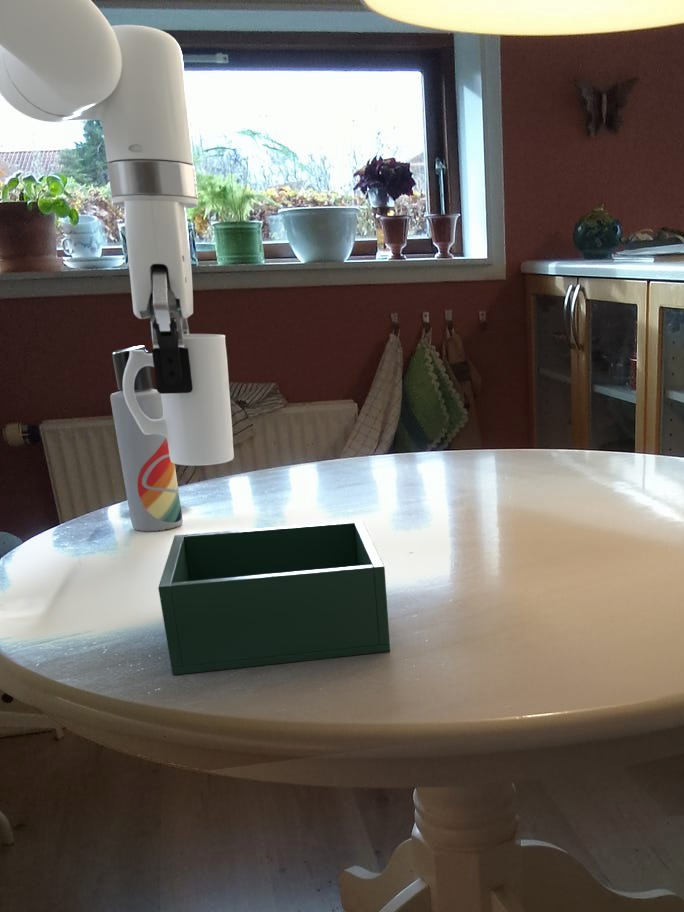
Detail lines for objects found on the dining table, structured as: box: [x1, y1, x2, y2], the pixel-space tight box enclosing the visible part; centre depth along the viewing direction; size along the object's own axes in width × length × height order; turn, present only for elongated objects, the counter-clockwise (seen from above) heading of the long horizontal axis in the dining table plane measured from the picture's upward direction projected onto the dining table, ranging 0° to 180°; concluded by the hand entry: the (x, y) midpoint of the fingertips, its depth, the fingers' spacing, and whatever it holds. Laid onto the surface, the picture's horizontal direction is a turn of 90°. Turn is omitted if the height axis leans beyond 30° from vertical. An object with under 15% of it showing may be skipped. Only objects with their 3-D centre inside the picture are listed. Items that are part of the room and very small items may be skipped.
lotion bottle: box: [109, 345, 183, 532], centre depth 104 cm, size 6×6×20 cm
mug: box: [123, 333, 235, 466], centre depth 91 cm, size 10×7×12 cm, turn 113°
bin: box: [157, 520, 391, 676], centre depth 73 cm, size 16×15×7 cm
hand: (178, 387), depth 91 cm, fingers closed on mug, 6 cm apart
